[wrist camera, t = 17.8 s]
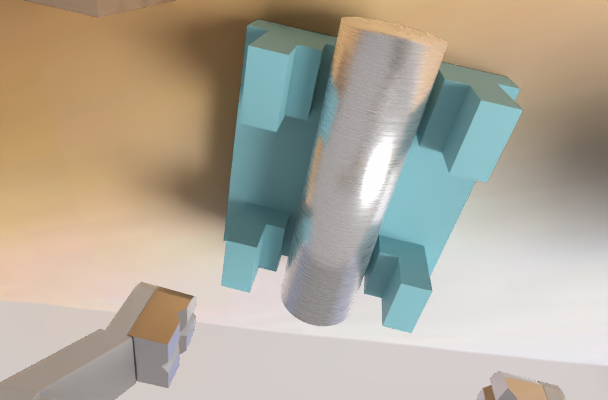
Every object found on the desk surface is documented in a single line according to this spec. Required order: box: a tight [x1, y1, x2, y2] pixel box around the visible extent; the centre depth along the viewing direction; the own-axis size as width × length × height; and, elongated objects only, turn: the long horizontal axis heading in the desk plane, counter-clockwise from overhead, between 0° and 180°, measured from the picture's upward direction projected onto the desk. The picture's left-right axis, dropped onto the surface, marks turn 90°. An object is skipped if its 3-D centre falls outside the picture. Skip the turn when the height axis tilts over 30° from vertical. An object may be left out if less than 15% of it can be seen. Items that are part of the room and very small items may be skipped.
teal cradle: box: [221, 19, 523, 333], centre depth 20 cm, size 12×12×6 cm
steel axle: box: [281, 17, 448, 326], centre depth 19 cm, size 14×4×4 cm, turn 169°
